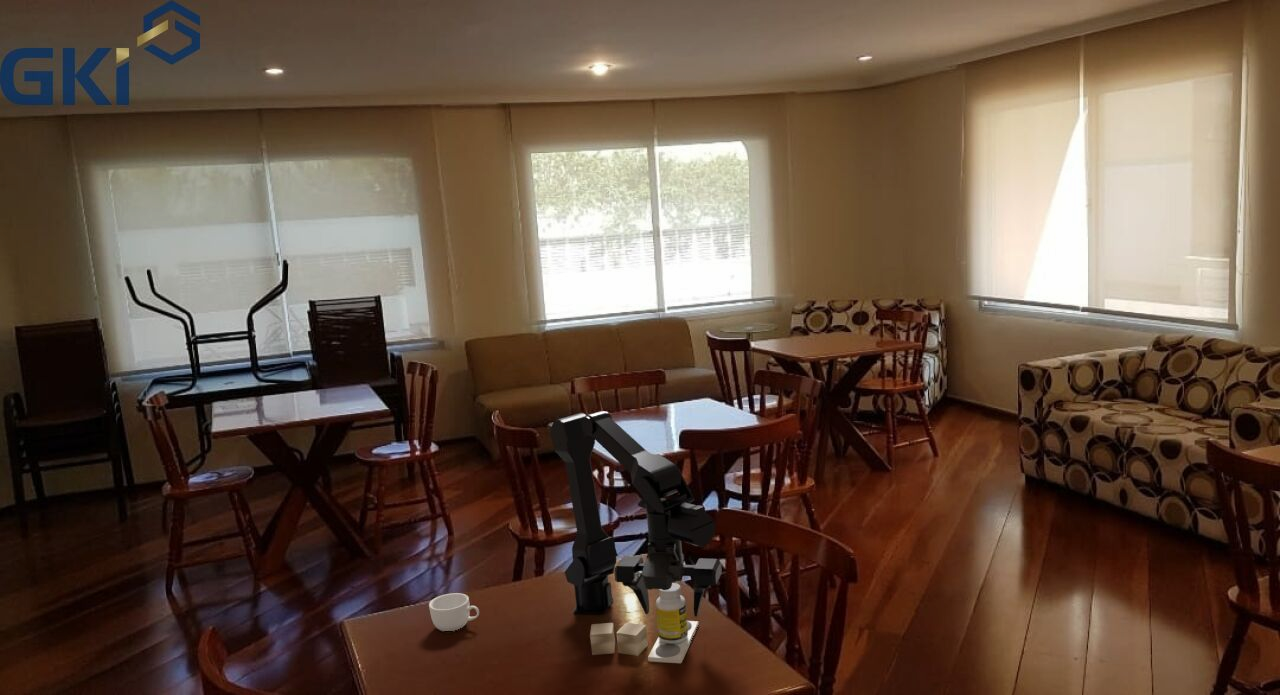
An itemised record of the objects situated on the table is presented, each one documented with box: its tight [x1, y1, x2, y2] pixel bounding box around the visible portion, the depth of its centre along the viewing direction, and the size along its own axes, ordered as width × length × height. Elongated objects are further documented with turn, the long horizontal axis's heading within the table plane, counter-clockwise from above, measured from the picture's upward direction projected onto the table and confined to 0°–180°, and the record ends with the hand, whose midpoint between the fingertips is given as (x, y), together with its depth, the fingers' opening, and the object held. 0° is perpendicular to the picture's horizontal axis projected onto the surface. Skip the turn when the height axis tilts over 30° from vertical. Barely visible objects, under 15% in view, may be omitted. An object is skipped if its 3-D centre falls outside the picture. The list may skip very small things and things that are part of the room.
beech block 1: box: [589, 622, 616, 656], centre depth 165 cm, size 4×4×4 cm
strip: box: [647, 620, 699, 664], centre depth 165 cm, size 6×14×1 cm, turn 163°
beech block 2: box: [615, 622, 649, 657], centre depth 164 cm, size 4×4×4 cm
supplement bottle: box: [655, 582, 688, 643], centre depth 164 cm, size 5×5×10 cm
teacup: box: [428, 592, 480, 632], centre depth 179 cm, size 10×8×5 cm
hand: (671, 614), depth 164 cm, fingers open, 9 cm apart
